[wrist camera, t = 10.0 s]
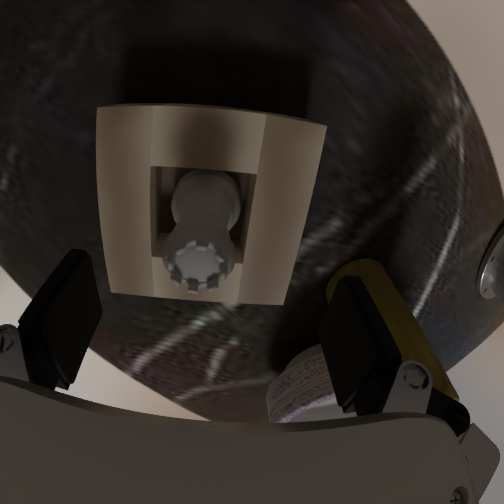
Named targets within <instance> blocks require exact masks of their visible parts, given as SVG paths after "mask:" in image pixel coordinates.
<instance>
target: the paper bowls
mask: <svg viewBox="0 0 504 504" xmlns="http://www.w3.org/2000/svg"><path fill="white" fill-rule="evenodd" d="M267 407H268V414H269V420H270V423H287V422H305V421H318V420H329V419H339V418H348V417H356V416H357V415H356V412H352V413H345V414H343V410H342V407H340V406H338V404H337V401H336V397H335V393H334V389H333V386H332V382H331V378H330V375H329V371H328V368H327V364H326V361H325V357H324V354H323V350H322V347H321V343H320V344H317V345H314V346H312V347H310V348H308V349H306V350H304V351H303V352H301V353H300V354H298V355H297V356H296V357H295V358H293V359H292V360H291V361H290V363H289V364H288V365H287V367H286V368H285V370H284V372H283V373H282V374H281V375H279V376H278V377H277V378H276V379H275V380H274V381H273V382H272V383H271V384H270V386H269V388H268V390H267Z"/></svg>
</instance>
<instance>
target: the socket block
mask: <svg viewBox="0 0 504 504" xmlns="http://www.w3.org/2000/svg"><path fill="white" fill-rule="evenodd" d="M326 129H327V126H325V125H322V124H319V123H316V122H313V121H310V120H307V119H303V118H298V117H293V116H287V115H282V114H276V113H270V112H263V111H256V110H248V109H240V108H231V107H222V106H210V105H195V104H173V103H131V104H117V105H111V106H104V107H98V108H97V125H96V167H97V189H98V203H99V214H100V224H101V233H102V241H103V248H104V255H105V261H106V267H107V273H108V279H109V284H110V289H111V292H114V293H123V294H132V295H141V296H151V297H162V298H173V299H185V300H198V301H212V302H228V303H247V304H269V305H283V303H284V300H285V296H286V293H287V289H288V286H289V282H290V278H291V275H292V271H293V267H294V264H295V260H296V256H297V252H298V248H299V245H300V241H301V237H302V233H303V229H304V225H305V221H306V217H307V213H308V209H309V205H310V201H311V196H312V192H313V188H314V184H315V179H316V175H317V170H318V166H319V162H320V157H321V152H322V148H323V143H324V138H325V134H326ZM196 169H210V170H221V171H223V172H224V173H226V174H227V175H229V176H230V177H231V178H233V180H234V181H235V183H236V184H237V186H238V188H239V189H240V195H241V201H242V203H241V210H240V214H239V217H238V220H237V222H236V223H235V224H234V225H233V227H232V228H231V229H230V230H229V235H230V240H231V241H232V243H233V244H234V246H235V251H236V257H237V259H236V262H235V265H234V269H233V271H232V272H231V273H230V274H229V275H228V276H227V277H226V280H223V281H221V282H219V288H218V289H216V290H214V291H212V292H210V293H209V291H208V290H207V287H200V288H199V290H198V294H193V293H187V288H188V286H187V285H185V284H184V283H182V282H181V284H180V285H179V286H178V287H176V286H175V285H174V283H173V282H172V281H171V280H170V276H171V274H170V273H169V272H168V271H167V270H166V268H165V266H164V263H163V260H162V257H161V256H162V248H163V243H164V242H165V240H166V239H167V237H168V236H169V234H170V233H171V232H172V231H173V229H174V228H175V226H176V225H177V223H176V222H175V221H174V217H173V213H172V209H171V202H172V196H173V192H174V188H175V186H176V185H177V183H178V182H179V181H180V179H181V178H182V177H183V176H185V175H186V174H188V173H189V172H191V171H192V170H196Z"/></svg>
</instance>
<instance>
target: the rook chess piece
mask: <svg viewBox="0 0 504 504" xmlns="http://www.w3.org/2000/svg"><path fill="white" fill-rule="evenodd" d="M241 203H242V201H241V195H240V189H239V188H238V186H237V184H236V183H235V181H234V180H233V178H231V177H230V176H229V175H227V174H226V173H224V172H223V171H221V170H210V169H196V170H192V171H191V172H189V173H188V174H186V175H185V176H183V177H182V178H181V179H180V181H179V182H178V183H177V185H176V186H175V188H174V192H173V196H172V202H171V209H172V213H173V217H174V221H175V222H176V223H177V225H176V226H175V228H174V229H173V231H172V232H171V233H170V234H169V236H168V237H167V239H166V240H165V242H164V243H163V248H162V256H161V257H162V260H163V263H164V266H165V268H166V270H167V271H168V272H169V273H170V274H171V276H170V280H171V281H172V282H173V283H174V285H175V286H176V287H178V286H179V285H180V284H181V282H182V283H184V284H185V285H187V286H188V288H187V293H193V294H198V290H199V288H200V287H207V290H208V291H209V293H210V292H212V291H214V290H216V289H218V288H219V282H221V281H223V280H226V277H227V276H228V275H229V274H230V273H231V272H232V271H233V269H234V265H235V262H236V259H237V257H236V251H235V246H234V244H233V243H232V241H231V240H230V235H229V230H230V229H231V228H232V227H233V225H234V224H235V223H236V222H237V220H238V217H239V214H240V210H241Z"/></svg>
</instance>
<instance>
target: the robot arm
mask: <svg viewBox="0 0 504 504" xmlns="http://www.w3.org/2000/svg"><path fill="white" fill-rule="evenodd" d="M477 289H478V291H479V293H480V294H481V295H482V296H483V297H484V298H486V299H489V298H493V297H496V296H497V297H498V298H499V299H500V300H501V301H502V303H503V304H504V226H503V227H502V228H501V230H500V231H499V232H498V233H497V235H496V236H495V238H494V239H493V241H492V243H491V244H490V246H489V248H488V250H487V252H486V254H485V256H484V258H483V261H482V263H481V266H480V269H479V272H478V277H477ZM101 316H102V306H101V302H100V298H99V293H98V289H97V285H96V280H95V275H94V270H93V265H92V260H91V256H90V255H89V254H87V252H86V251H85V250H80V249H71V250H70V251H69V252H68V253H67V255H66V256H65V257H64V258H63V260H62V261H61V262H60V263H59V265H58V266H57V267H56V268H55V270H54V271H53V272H52V273H51V275H50V276H49V277H48V279H47V280H46V281H45V283H44V284H43V285H42V287H41V288H40V290H39V291H38V292H37V294H36V295H35V297H34V298H33V299H32V301H31V302H30V304H29V305H28V307H27V308H26V310H25V311H24V313H23V314H22V316H21V317H20V319H19V320H18V322H19V326H18V328H16V327H15V326H13V325H11V324H4V325H1V326H0V504H479V500H480V498H481V497H482V495H483V493H484V491H485V489H486V488H487V486H488V484H489V482H490V480H491V478H492V476H493V474H494V472H495V470H496V468H497V466H498V464H499V461H500V453H499V449H498V448H497V446H496V445H495V444H494V443H493V442H492V441H491V440H490V439H489V438H488V437H487V436H486V435H485V434H484V433H483V432H482V431H481V430H480V429H479V428H478V427H477V426H476V425H475V424H474V423H472V424H471V425H470V415H469V412H468V410H467V409H466V407H465V406H464V405H462V404H461V403H459V402H458V401H456V400H454V399H453V398H451V397H449V396H447V395H446V394H444V393H442V392H440V391H439V390H437V389H435V388H434V387H432V382H433V379H432V376H431V373H430V372H429V370H428V369H427V368H426V367H425V366H424V365H423V364H421V363H419V362H417V361H412V360H409V361H405V362H402V359H401V357H402V354H401V352H400V350H399V348H398V346H397V344H396V342H395V340H394V338H393V336H392V334H391V332H390V330H389V329H388V327H387V325H386V323H385V321H384V319H383V317H382V315H381V313H380V312H379V310H378V308H377V306H376V304H375V302H374V301H373V299H372V297H371V295H370V293H369V292H368V290H367V288H366V286H365V285H364V283H363V281H362V279H361V278H360V277H359V276H350V275H345V276H344V277H343V278H342V279H339V280H338V282H337V285H336V288H335V290H334V293H333V295H332V298H331V300H330V303H329V305H328V308H327V310H326V313H325V315H324V317H323V320H322V322H321V324H320V327H319V330H318V336H319V340H320V343H321V347H322V350H323V354H324V357H325V361H326V364H327V368H328V371H329V375H330V378H331V382H332V386H333V389H334V393H335V397H336V401H337V404H338V406H340V407H342V410H343V414H345V413H352V412H356V415H357V416H356V417H348V418H339V419H329V420H318V421H305V422H287V423H233V422H214V421H201V420H190V419H181V418H173V417H165V416H158V415H153V414H146V413H141V412H135V411H130V410H125V409H120V408H116V407H111V406H107V405H103V404H99V403H95V402H92V401H88V400H84V399H81V398H77V397H74V396H70V395H67V394H64V393H60V392H57V391H54V390H55V387H59V388H62V389H65V390H68V389H69V386H70V384H73V383H74V381H75V379H76V376H77V373H78V371H79V368H80V366H81V363H82V360H83V358H84V356H85V353H86V351H87V348H88V346H89V344H90V341H91V339H92V337H93V334H94V332H95V330H96V327H97V325H98V323H99V321H100V319H101Z"/></svg>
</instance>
